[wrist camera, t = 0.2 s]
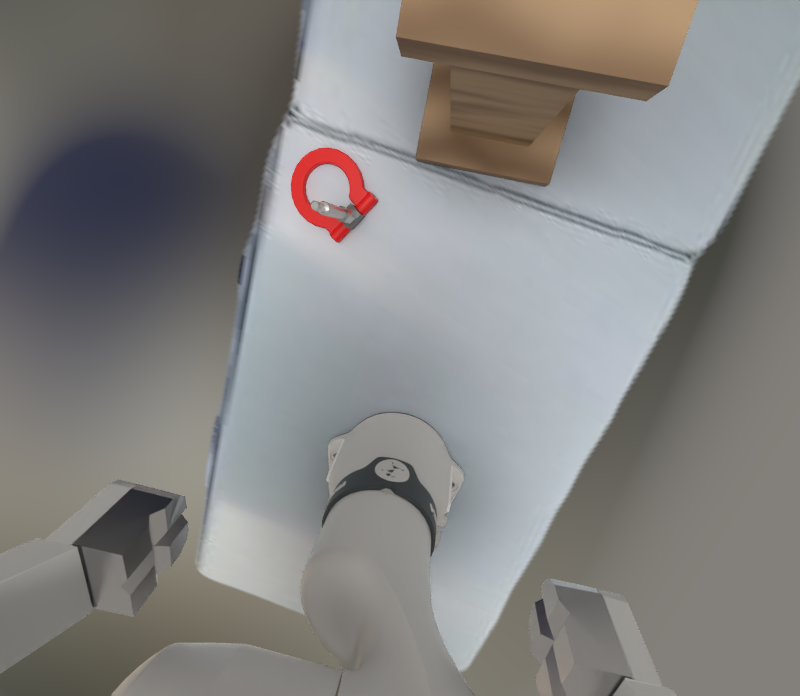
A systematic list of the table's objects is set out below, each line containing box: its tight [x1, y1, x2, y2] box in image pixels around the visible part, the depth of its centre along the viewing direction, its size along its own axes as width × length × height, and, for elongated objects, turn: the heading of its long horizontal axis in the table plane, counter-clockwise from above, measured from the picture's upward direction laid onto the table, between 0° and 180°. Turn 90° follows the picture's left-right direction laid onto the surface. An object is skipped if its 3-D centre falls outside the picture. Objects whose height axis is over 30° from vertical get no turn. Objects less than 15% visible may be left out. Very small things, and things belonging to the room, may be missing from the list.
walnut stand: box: [396, 0, 699, 187], centre depth 28 cm, size 14×14×26 cm
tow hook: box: [291, 148, 378, 243], centre depth 39 cm, size 8×13×9 cm
